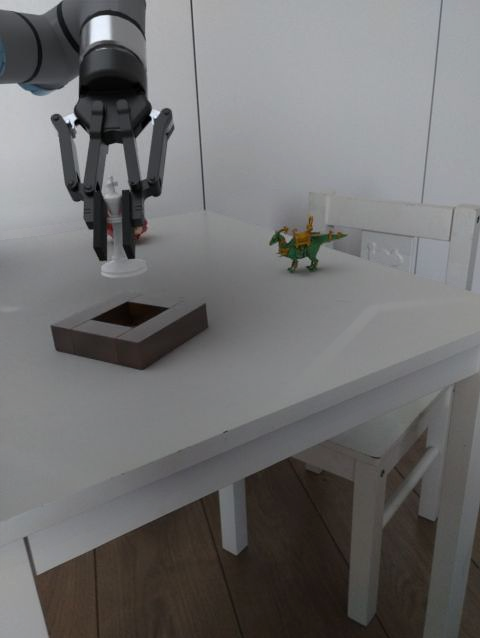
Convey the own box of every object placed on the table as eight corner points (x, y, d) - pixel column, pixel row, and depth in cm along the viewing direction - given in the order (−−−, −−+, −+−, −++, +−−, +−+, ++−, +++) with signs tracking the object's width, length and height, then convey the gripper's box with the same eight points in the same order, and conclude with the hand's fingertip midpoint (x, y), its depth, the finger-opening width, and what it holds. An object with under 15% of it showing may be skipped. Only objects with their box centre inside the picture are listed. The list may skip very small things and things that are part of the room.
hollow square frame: (55, 350, 63) (49, 325, 62) (128, 312, 73) (124, 290, 71) (142, 370, 58) (138, 343, 56) (208, 326, 67) (206, 302, 66)
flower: (83, 233, 108) (87, 201, 102) (117, 213, 113) (123, 182, 107) (120, 264, 106) (127, 234, 100) (153, 243, 112) (161, 214, 106)
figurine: (268, 270, 87) (266, 216, 83) (344, 263, 88) (345, 209, 85) (272, 276, 84) (270, 220, 80) (350, 268, 86) (351, 213, 82)
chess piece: (91, 276, 61) (74, 179, 56) (118, 263, 65) (104, 172, 60) (131, 280, 59) (115, 180, 55) (156, 266, 63) (143, 172, 59)
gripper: (184, 94, 69) (194, 266, 61) (56, 101, 68) (49, 276, 60) (176, 41, 62) (187, 227, 54) (34, 48, 61) (23, 238, 53)
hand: (114, 253), depth 57 cm, fingers closed on chess piece, 2 cm apart
